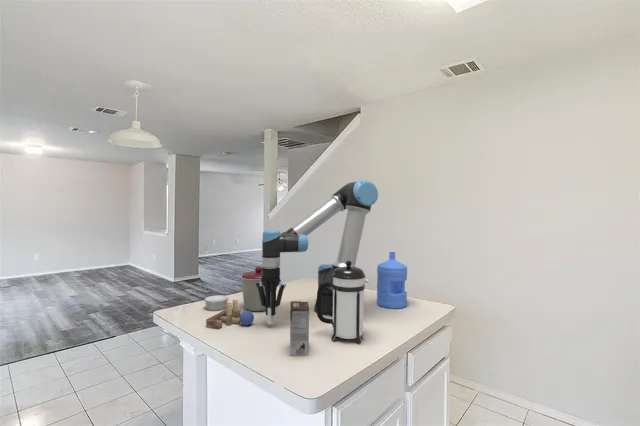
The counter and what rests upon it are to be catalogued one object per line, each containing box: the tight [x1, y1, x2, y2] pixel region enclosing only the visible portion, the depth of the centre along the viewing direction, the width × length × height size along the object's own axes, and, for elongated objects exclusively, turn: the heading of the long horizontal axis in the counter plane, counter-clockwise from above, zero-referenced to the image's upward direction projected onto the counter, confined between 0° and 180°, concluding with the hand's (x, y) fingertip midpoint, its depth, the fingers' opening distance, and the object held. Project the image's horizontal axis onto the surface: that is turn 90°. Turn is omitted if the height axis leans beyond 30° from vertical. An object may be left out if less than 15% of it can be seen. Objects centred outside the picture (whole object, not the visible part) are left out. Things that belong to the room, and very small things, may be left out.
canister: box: [239, 266, 271, 312], centre depth 159 cm, size 18×18×21 cm
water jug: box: [376, 251, 408, 310], centre depth 168 cm, size 16×16×28 cm
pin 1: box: [225, 302, 233, 326], centre depth 136 cm, size 2×2×9 cm
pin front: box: [220, 316, 242, 325], centre depth 138 cm, size 2×2×9 cm
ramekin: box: [204, 294, 229, 312], centre depth 159 cm, size 11×11×5 cm
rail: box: [205, 309, 242, 330], centre depth 139 cm, size 7×17×3 cm, turn 164°
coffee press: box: [316, 261, 370, 345], centre depth 123 cm, size 17×16×30 cm
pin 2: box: [232, 299, 239, 318], centre depth 141 cm, size 2×2×9 cm
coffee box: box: [289, 300, 310, 357], centre depth 111 cm, size 9×6×16 cm
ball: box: [239, 310, 255, 326], centre depth 136 cm, size 6×6×6 cm
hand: (270, 322), depth 133 cm, fingers closed
